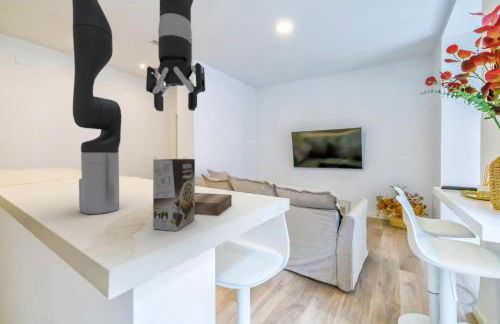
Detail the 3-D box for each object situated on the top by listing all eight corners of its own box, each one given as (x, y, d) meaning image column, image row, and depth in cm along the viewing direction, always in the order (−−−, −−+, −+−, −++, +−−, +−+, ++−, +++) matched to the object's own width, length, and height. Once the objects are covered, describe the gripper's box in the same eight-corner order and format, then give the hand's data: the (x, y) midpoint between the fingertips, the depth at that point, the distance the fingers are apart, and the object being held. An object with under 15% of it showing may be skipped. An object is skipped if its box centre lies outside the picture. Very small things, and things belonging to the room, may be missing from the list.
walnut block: (176, 214, 65) (176, 200, 65) (196, 204, 77) (196, 192, 77) (217, 217, 62) (218, 203, 62) (231, 206, 75) (231, 194, 75)
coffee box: (177, 231, 49) (177, 159, 49) (152, 229, 50) (151, 158, 50) (195, 219, 58) (196, 158, 57) (173, 218, 59) (173, 158, 59)
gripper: (138, 36, 50) (138, 108, 51) (196, 30, 47) (195, 106, 48) (158, 51, 58) (158, 113, 58) (209, 46, 55) (209, 112, 55)
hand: (175, 110), depth 53 cm, fingers open, 8 cm apart
